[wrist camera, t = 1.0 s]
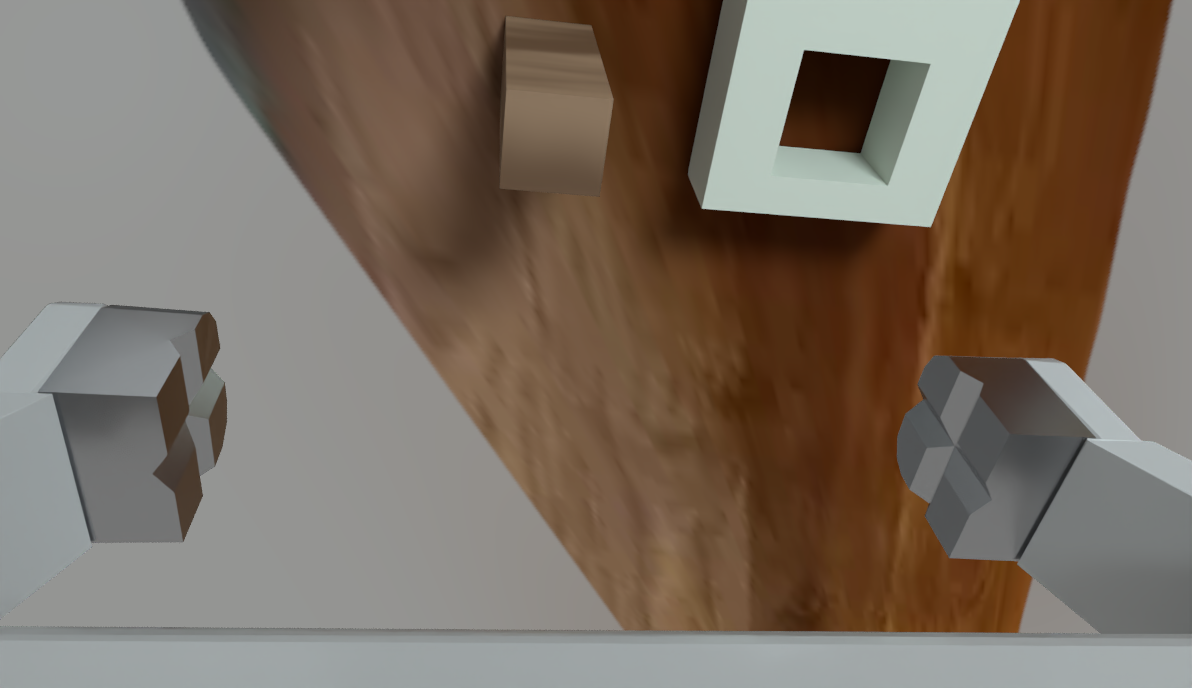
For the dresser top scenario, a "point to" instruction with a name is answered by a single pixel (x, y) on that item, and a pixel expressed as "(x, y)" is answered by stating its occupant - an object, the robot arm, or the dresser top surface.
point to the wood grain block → (553, 108)
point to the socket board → (898, 126)
